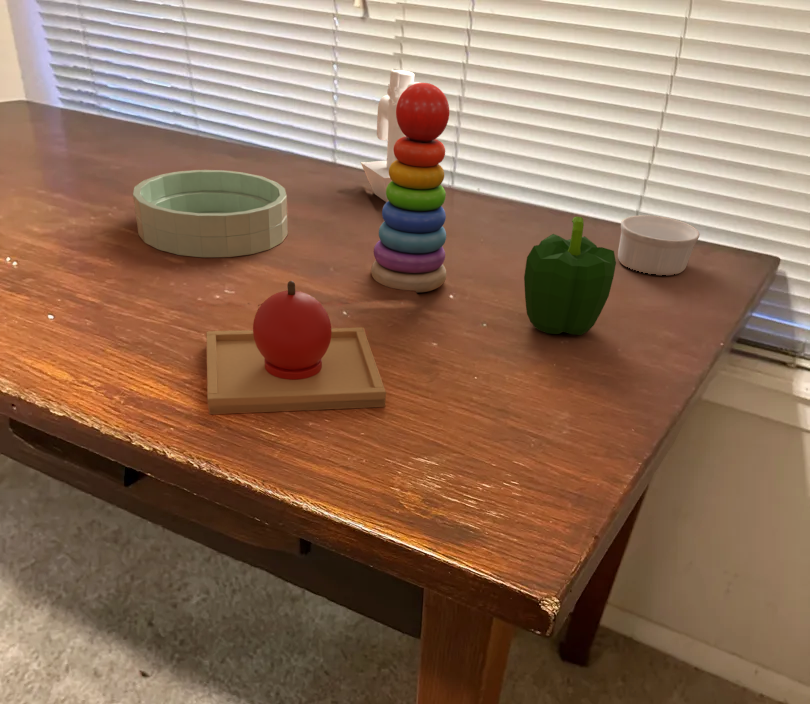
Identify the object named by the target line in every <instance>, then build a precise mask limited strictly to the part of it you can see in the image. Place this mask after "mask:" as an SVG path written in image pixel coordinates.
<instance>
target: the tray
mask: <svg viewBox="0 0 810 704" xmlns="http://www.w3.org/2000/svg"><path fill="white" fill-rule="evenodd" d="M331 330H332V334H331V341H330V345H329V347H328V350H327V351H326V353H325V355H324V356H323V357H322V368H321V370H320V372H319V373H318V374H316V375H314V376H312V377H309V378H305V379H298V380H290V379H282V378H278V377H275V376H273V375H271V374H270V373H268V372H267V370H266V369H265V362H264V359H265V358H264V357H263V356H262V354H261V353H260V351H259V350H258V348H257V346H256V344H255V340H254V336H253V329H243V330H207V331H206V333H205V334H206V391H207V393H206V397H207V398H206V399H207V409H208V415H225V414H226V415H228V414H251V413H252V414H253V413H269V412H270V413H273V412H295V411H296V412H297V411H316V410H317V411H319V410H321V411H323V410H340V409H341V410H342V409H343V410H344V409H363V408H364V409H367V408H385V407H386V403H387V402H386V401H387V399H386V398H387V391H386V387H385V385H384V383H383V380H382V376H381V374H380V371H379V368H378V365H377V362H376V360H375V357H374V354H373V351H372V348H371V345H370V343H369V340H368V337H367V334H366V331H365V328H364V327H331Z"/></svg>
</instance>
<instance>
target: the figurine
mask: <svg viewBox="0 0 810 704" xmlns="http://www.w3.org/2000/svg"><path fill="white" fill-rule="evenodd" d="M389 75H390V76H389V83H388V84H387V87H388V88H387V90H386V91H387V94H385V95H383V96H381V97H380V99H379V101H378V105H377V113H376V114H377V117H376V137H377V139H378V140H380V141H387V149H386V160H376V161H375V160H374V161H361V162H360V165H361V167H362V170H363V171H364V173H365V176H366V178H367V181H368V183H369V185H370V188H371V190H372V192H373V194H374V195H375V196H377V197H378V198H379V199H381V200H382V201H384V202H385V203H387V202H388V199H387V196H386V188H387V186H388V184H389V183H390V182H391V181H392V180H391V178H390V176H389V167H390V165H391V164H392V163H393V162H394V161H396V160H397V158H396V157H395V155H394V145H395V143H396V141H397V140H398V139H400V138H402V137H405V135H404V134H403V132H402V131H401V129H400V127H399V125H398V123H397V118H396V107H397V103H398V100H399V98H400V96H401V94H402V93H403V92H404V91H405V90H406V89H407V88H408V87H410V86H411V85H413V84H416V83H421V82H420V81H415V73H414V72H411V71H409V70H403V69H393V68H392V69H390V74H389Z"/></svg>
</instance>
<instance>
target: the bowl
mask: <svg viewBox="0 0 810 704" xmlns="http://www.w3.org/2000/svg"><path fill="white" fill-rule="evenodd" d="M132 199H133V206H134V213H135V220H136V226H137V227H136V229H137V232H138V233H137V234H138V236H139V237H140V239H141V240H142V242H143V243H144V244H146V245H148V246H151V247H152V248H154V249H156V250H158V251H162V252H165V253H170V254H174V255H178V256H185V257H194V258H232V257H233V258H234V257H241V256H249V255H254V254H259V253H262V252H266V251H268V250H271V249H273V248H275V247H276V246H279V245H280V244H282V243H283V242H284V241H285V239H286V238H287V237H288V235H289V231H288V230H289V227H288V225H289V224H288V223H289V222H288V195H287V191H286V188H285V187H284V186H283V185H281V184H280V183H279V182H277V181H275V180H272V179H271V178H268V177H264V176H262V175H258V174H253V173H248V172H244V171H234V170H224V169H193V170H191V169H190V170H180V171H173V172H166V173H163V174H158V175H155V176H152V177H149V178H146V179H144V180H142V181H140V182H138V184H136V185H135V186H134V187H133V191H132Z"/></svg>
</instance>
